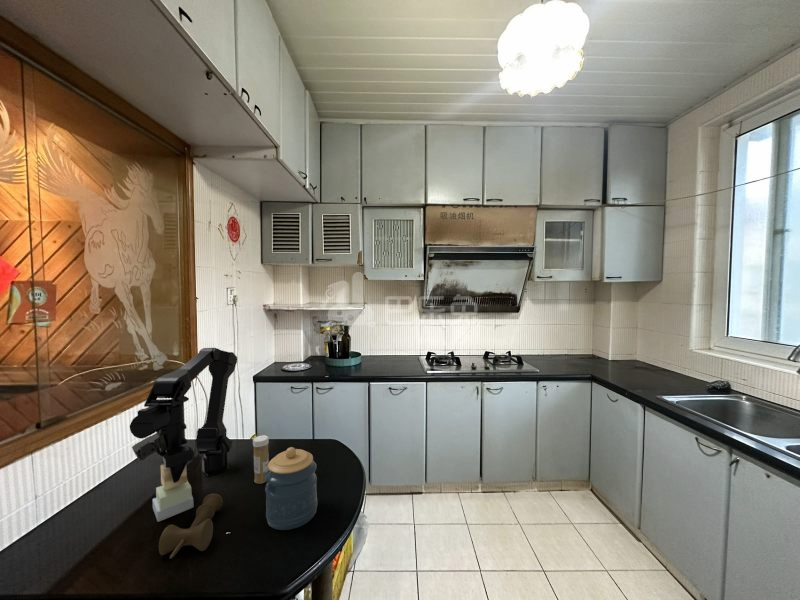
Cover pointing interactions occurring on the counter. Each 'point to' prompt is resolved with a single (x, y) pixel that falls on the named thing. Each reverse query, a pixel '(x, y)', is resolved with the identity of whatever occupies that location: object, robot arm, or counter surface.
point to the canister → (291, 489)
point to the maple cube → (167, 478)
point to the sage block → (173, 495)
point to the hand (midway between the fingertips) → (173, 478)
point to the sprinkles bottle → (260, 458)
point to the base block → (171, 509)
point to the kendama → (192, 529)
